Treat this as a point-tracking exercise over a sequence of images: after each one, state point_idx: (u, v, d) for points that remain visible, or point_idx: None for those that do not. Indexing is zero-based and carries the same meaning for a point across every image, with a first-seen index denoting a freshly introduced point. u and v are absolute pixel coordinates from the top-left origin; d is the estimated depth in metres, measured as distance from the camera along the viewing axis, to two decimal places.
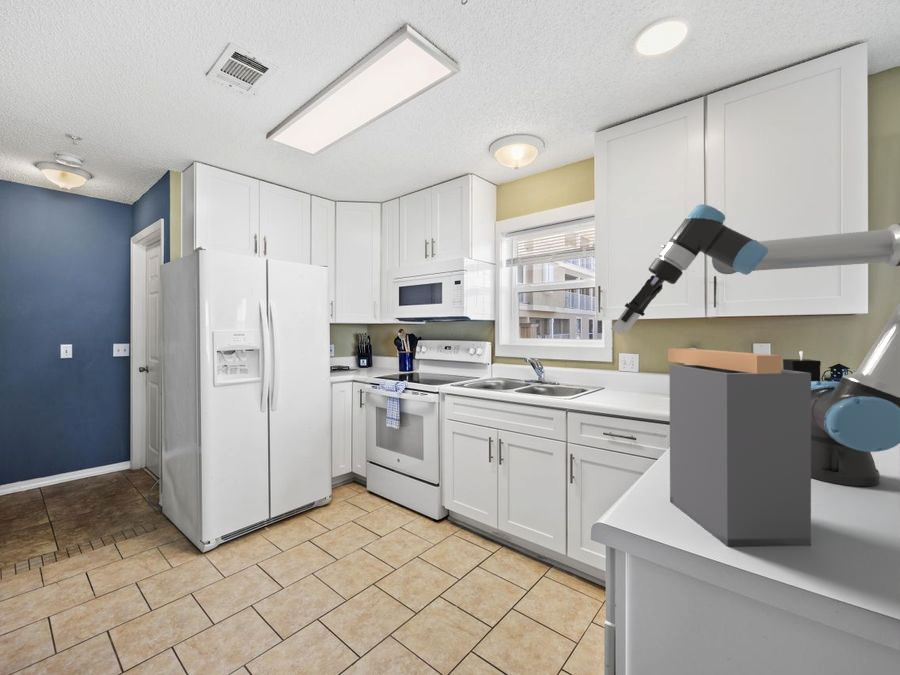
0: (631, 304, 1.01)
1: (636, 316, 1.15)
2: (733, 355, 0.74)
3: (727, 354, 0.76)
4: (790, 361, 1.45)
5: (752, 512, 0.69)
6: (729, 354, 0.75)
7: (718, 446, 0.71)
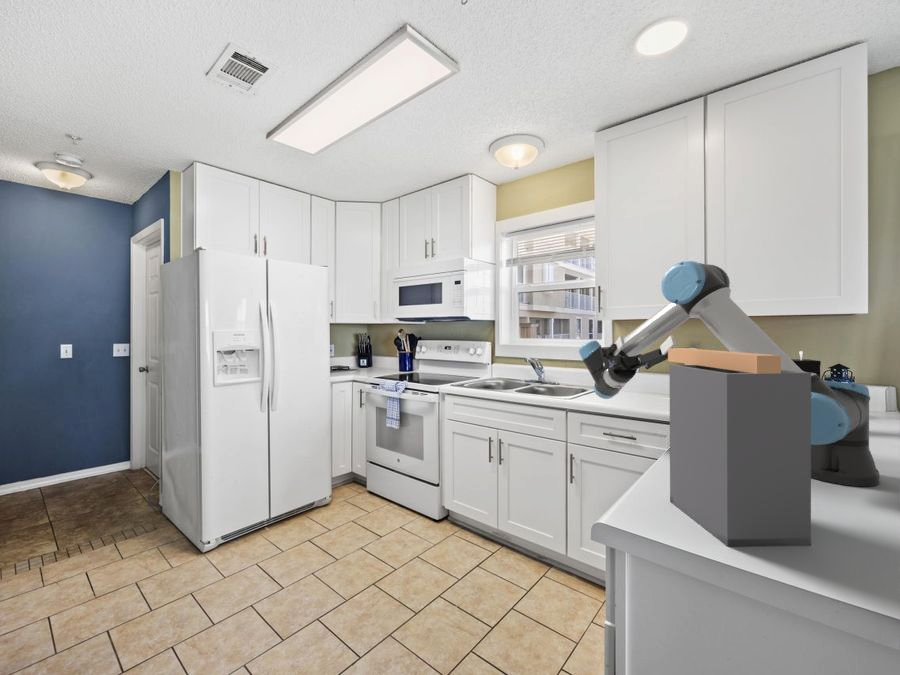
0: (601, 355, 1.17)
1: (661, 346, 1.16)
2: (733, 355, 0.74)
3: (727, 354, 0.76)
4: None
5: (752, 512, 0.69)
6: (729, 354, 0.75)
7: (718, 446, 0.71)
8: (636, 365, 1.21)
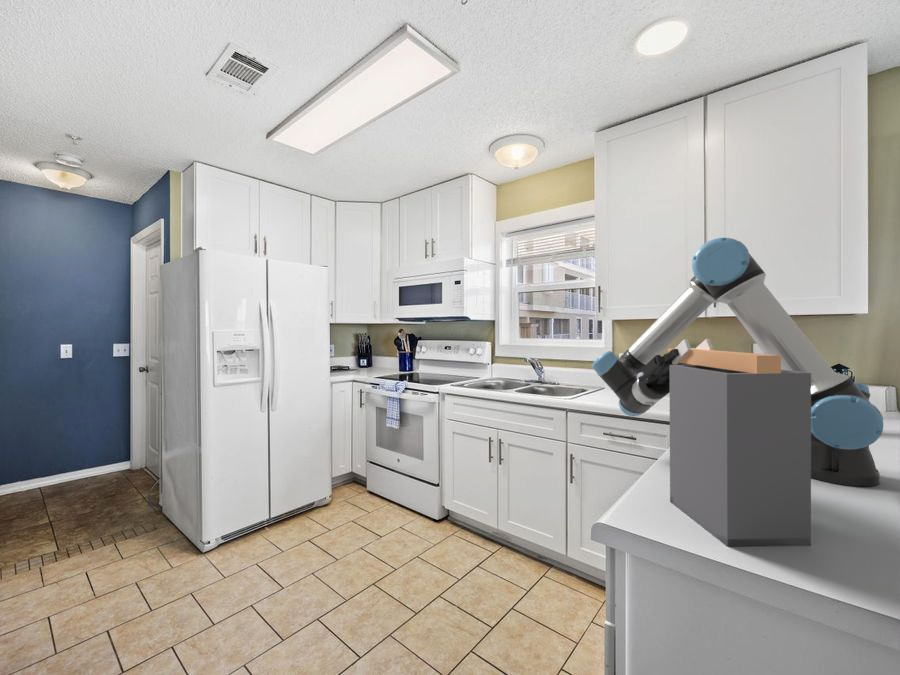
0: (658, 362, 0.94)
1: None
2: (733, 355, 0.74)
3: (727, 354, 0.76)
4: None
5: (752, 512, 0.69)
6: (729, 354, 0.75)
7: (718, 446, 0.71)
8: None
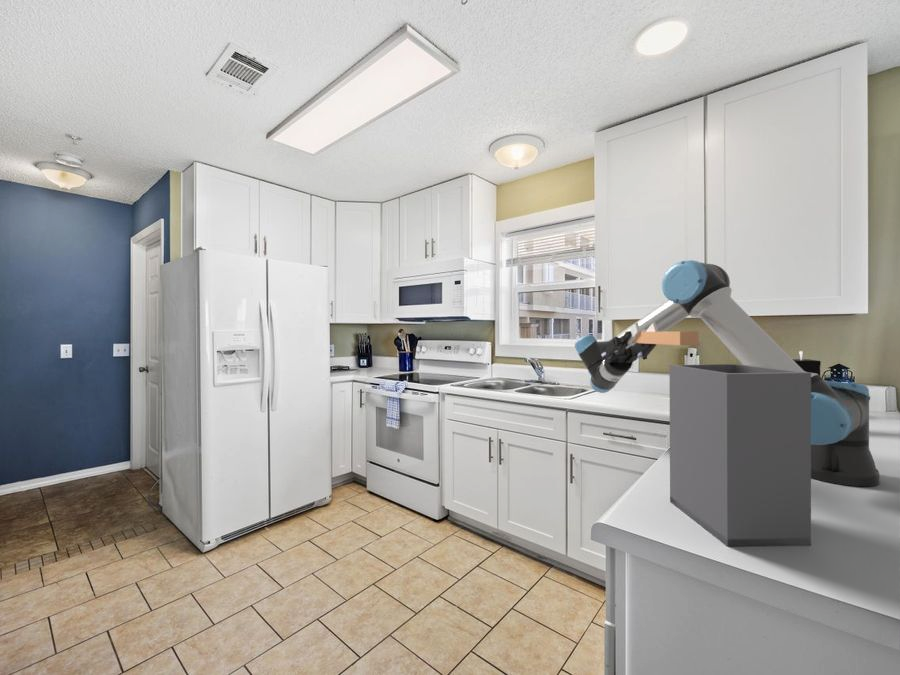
0: (616, 343, 1.15)
1: None
2: (666, 332, 0.95)
3: (662, 332, 0.97)
4: None
5: (752, 512, 0.69)
6: (663, 332, 0.96)
7: (718, 446, 0.71)
8: (629, 357, 1.21)
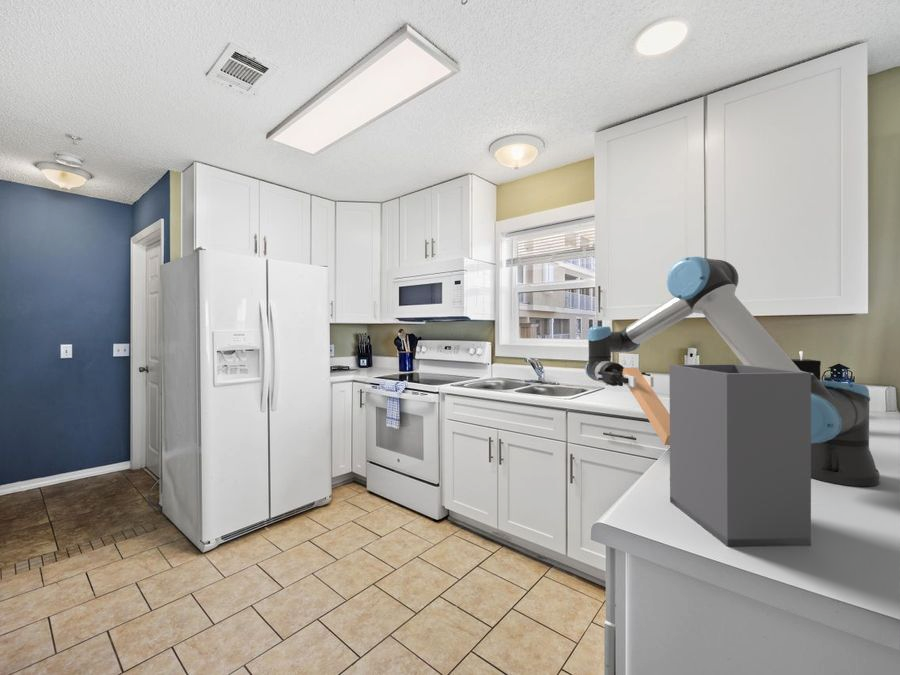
0: (612, 381, 1.21)
1: None
2: (656, 420, 1.02)
3: (653, 415, 1.04)
4: None
5: (752, 512, 0.69)
6: (654, 417, 1.03)
7: (718, 446, 0.71)
8: None
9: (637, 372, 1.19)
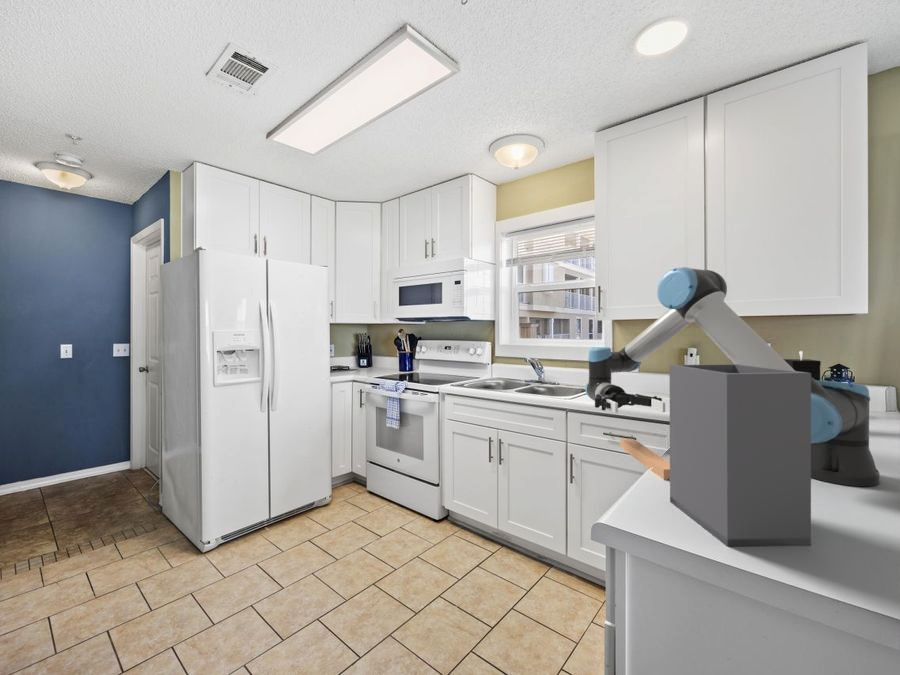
0: (595, 405, 1.23)
1: (652, 401, 1.21)
2: (652, 463, 1.05)
3: (650, 460, 1.07)
4: (790, 361, 1.45)
5: (752, 512, 0.69)
6: (651, 461, 1.06)
7: (718, 446, 0.71)
8: (626, 404, 1.29)
9: (633, 440, 1.25)
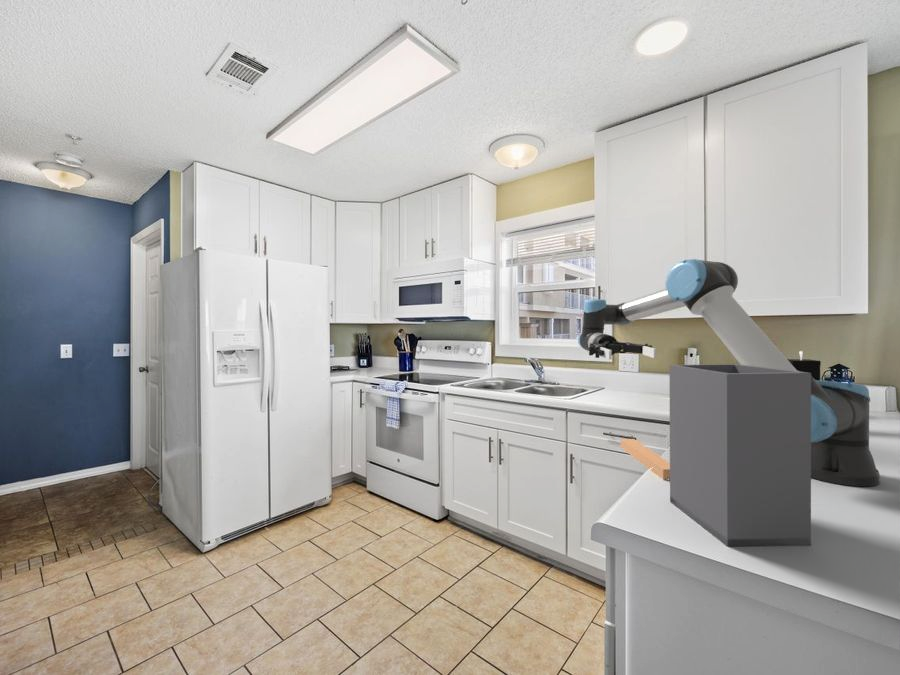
0: (589, 353, 1.30)
1: (644, 348, 1.28)
2: (652, 463, 1.05)
3: (650, 460, 1.07)
4: (790, 361, 1.45)
5: (752, 512, 0.69)
6: (650, 461, 1.06)
7: (718, 446, 0.71)
8: (618, 352, 1.36)
9: (634, 441, 1.25)
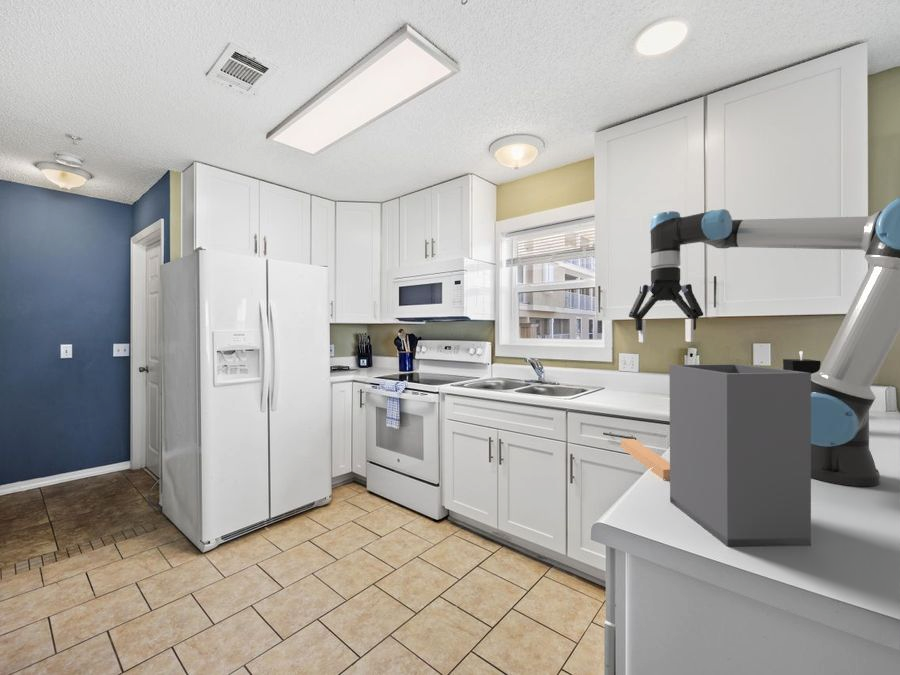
0: (629, 315, 1.19)
1: (689, 321, 1.18)
2: (652, 463, 1.05)
3: (650, 460, 1.07)
4: (790, 361, 1.45)
5: (752, 512, 0.69)
6: (651, 461, 1.06)
7: (718, 446, 0.71)
8: None
9: (634, 441, 1.25)
